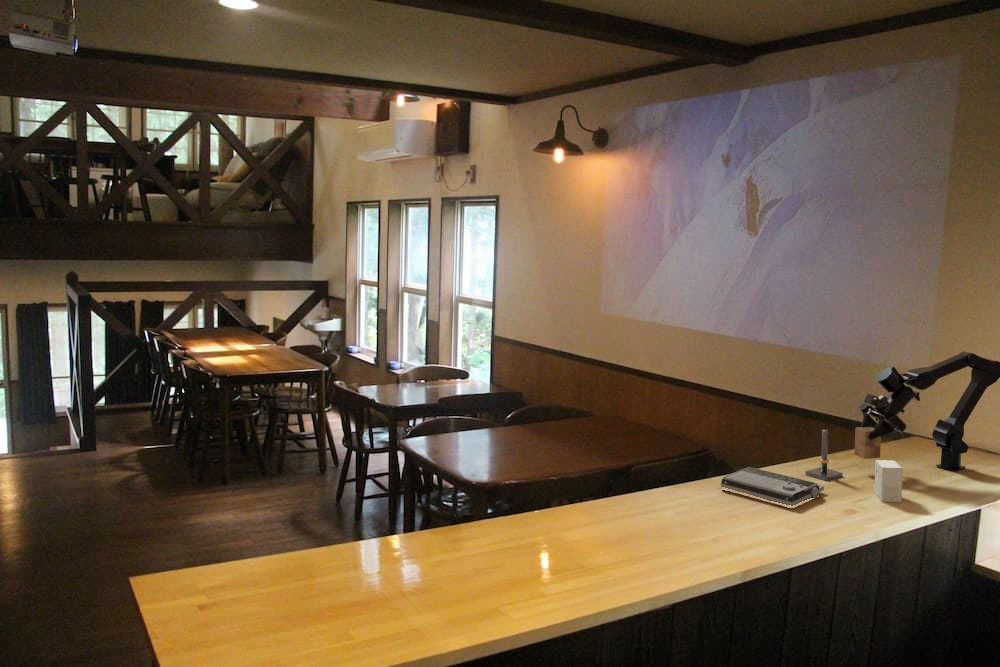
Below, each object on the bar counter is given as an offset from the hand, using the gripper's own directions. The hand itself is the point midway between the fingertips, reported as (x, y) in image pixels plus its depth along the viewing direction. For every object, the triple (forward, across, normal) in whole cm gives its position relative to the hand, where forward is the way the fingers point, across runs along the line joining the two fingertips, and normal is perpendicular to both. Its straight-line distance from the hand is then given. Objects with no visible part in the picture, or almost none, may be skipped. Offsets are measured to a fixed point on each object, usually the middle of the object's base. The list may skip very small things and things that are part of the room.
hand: (863, 436), depth 256 cm
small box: (+13, +23, +5) cm, 27 cm away
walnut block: (+4, 0, +6) cm, 7 cm away
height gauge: (+18, 0, -1) cm, 18 cm away
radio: (+35, +12, -16) cm, 40 cm away
